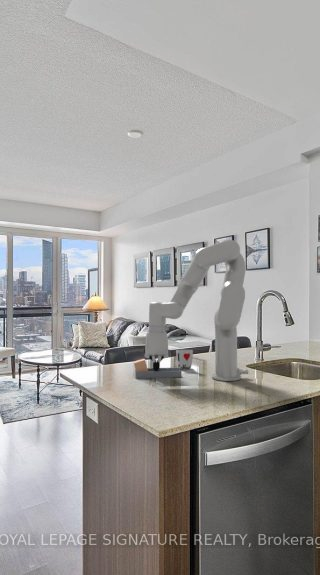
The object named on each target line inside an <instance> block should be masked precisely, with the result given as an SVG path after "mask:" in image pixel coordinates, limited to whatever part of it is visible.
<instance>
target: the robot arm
mask: <svg viewBox="0 0 320 575" xmlns="http://www.w3.org/2000/svg"><path fill="white" fill-rule="evenodd" d="M222 263H224V264H225V267H226V268H225V274H224V279H223V283H222V287H221V289H220V297H221V298H220V303H219V308H218V309H217V310H216V311H215V312H214V317H213V318H214V319H213V320H214V336H215V337H214V351H215V352H214V354H215V355H214V356H215V359H214V361H215V373H213V374H212V375H211V378H212V379H213V380H216V381H219V382H220V381H221V382H235V381H239V380H241V379H242V376H241V375H249V369H243V368H239V367H238V332H237V330H238V329H237V326H238V325H239V323H240V320H241V318H242V313H243V308H244V304H245V299H246V289H245V287H244V282H245V277H246V276H245V275H246V271H247V270H246V269H247V268H246V267H247V266H246V262H245V258H244V257H243V254H241V247H240V244H239V243H238V241H235V240H233V239H227V240H224V241H221V242H218V243H214V244H212V245H208V246H205V247H202V248H200V249H198V250H197V251H196V252H195V254H194V256H193V258H192V259H191V261H190V263H189V265H188V267H187V269H186V270H185V271H184V274H183V276H182V277H181V279H180V281H179V284H178V287H177V289H176V291H175V292H174V294H173V297H172V298H171V300H170V302H164V301H152V302H150V303H149V307H148V309H149V310H148V311H149V312H148V331H147V332H146V336H145V345H144V352H145V353H144V358H146V359H149V360H151V361H152V368H153V369H154V371H158V369H160V368H161V362H162V361H163V360H165V359H167V358H169V338H168V337H169V336H168V332H167V331H169V329H170V327H167V325H166V323H167V320H166V319H171V320H178V319H180V318H181V317H182V316H183V313H184V310H185V309H186V307H187V305H188V304H189V302H190V301H191V299H192V297H193V295H194V294H195V293H196V292H197V291H198V289H199V287H200V285H201V284H202V282H203V281H204V278H205V277H206V275H207V273H208V271H209V269H210V268H211V267H212V266H215V265H219V264H222ZM155 356H157V360H156V357H155Z"/></svg>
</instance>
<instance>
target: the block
mask: <svg viewBox="0 0 320 575" xmlns="http://www.w3.org/2000/svg"><path fill="white" fill-rule="evenodd" d="M133 365H134V368H135V369H136V372H148V369H147V368H148V367H147V362H146V359H145V358H142V359H141V358H140V359H139V360H136V361H133Z"/></svg>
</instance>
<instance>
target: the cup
mask: <svg viewBox="0 0 320 575" xmlns="http://www.w3.org/2000/svg"><path fill="white" fill-rule="evenodd" d="M175 353H176V354H175V356H176V363H177V368H178V367H179V371H188V370H191V369H192V363H193V359H194V358H193V356H194V355H193V354H194V351H193V349H176V350H175Z"/></svg>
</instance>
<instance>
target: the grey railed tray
mask: <svg viewBox="0 0 320 575" xmlns="http://www.w3.org/2000/svg"><path fill="white" fill-rule="evenodd" d="M147 369H148V372H136V369H135V372H134V374H135V379H149V378H151V379H153V378H154V379H155V378H161V379H162V378H182V370H180V369H179V367H178V366H177V367H160V369H158V371H154V369H153V367H147Z"/></svg>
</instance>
